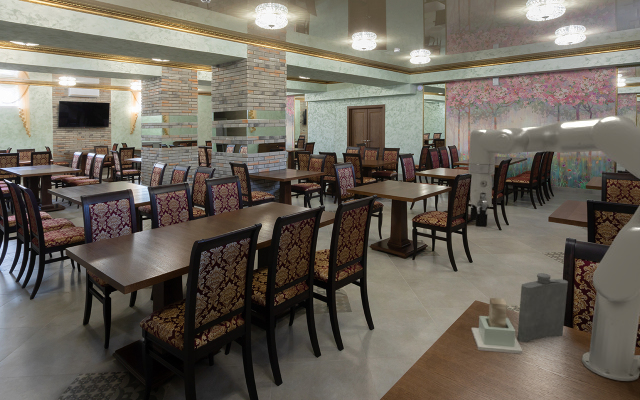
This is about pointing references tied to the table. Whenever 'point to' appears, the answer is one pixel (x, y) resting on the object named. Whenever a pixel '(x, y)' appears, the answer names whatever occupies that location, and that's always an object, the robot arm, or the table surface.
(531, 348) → the table surface
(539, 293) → the hip flask
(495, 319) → the beech peg
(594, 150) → the robot arm
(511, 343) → the socket holder
